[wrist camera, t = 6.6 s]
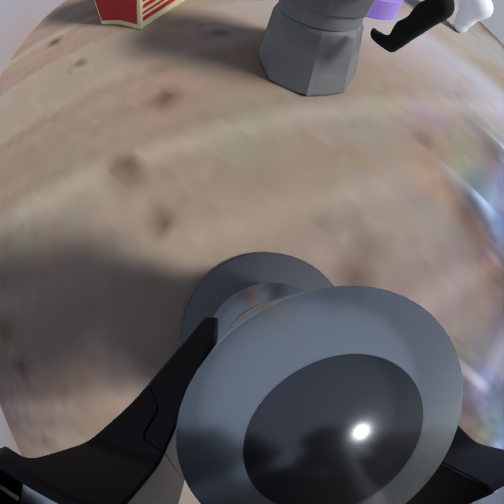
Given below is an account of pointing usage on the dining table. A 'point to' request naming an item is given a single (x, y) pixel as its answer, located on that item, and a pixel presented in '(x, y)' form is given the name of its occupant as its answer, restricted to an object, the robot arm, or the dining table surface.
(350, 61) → the coffeepot
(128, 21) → the milk carton
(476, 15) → the lightbulb
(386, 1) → the masking tape
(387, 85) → the dining table surface
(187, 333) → the rubber pad
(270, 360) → the grey metal flared cylinder
